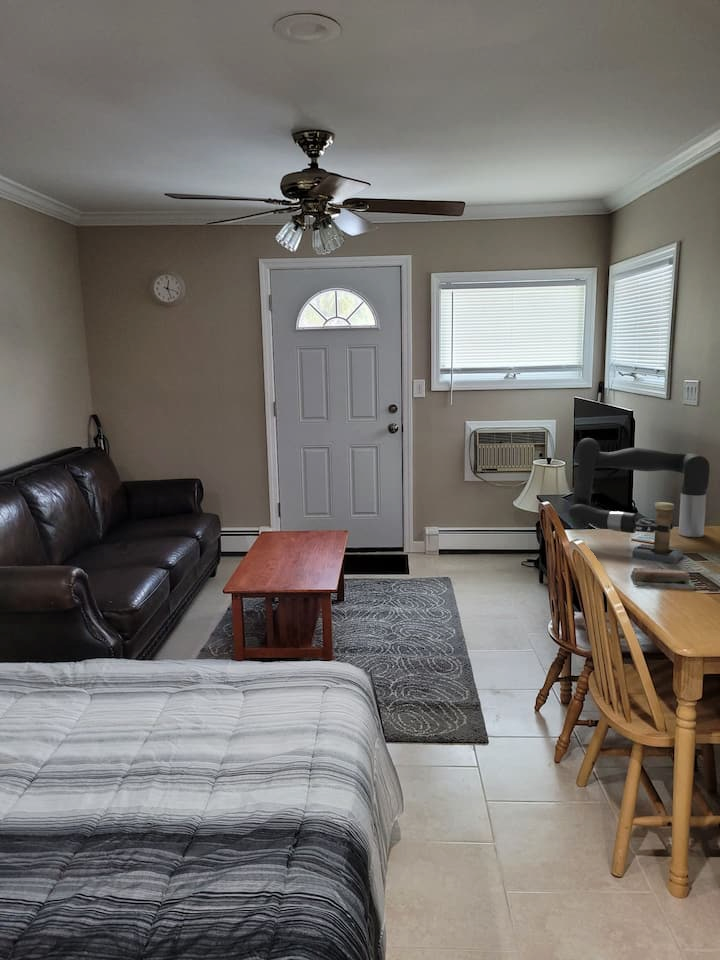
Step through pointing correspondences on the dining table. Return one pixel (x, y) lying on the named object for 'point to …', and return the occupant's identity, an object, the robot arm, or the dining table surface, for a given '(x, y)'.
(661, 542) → the walnut peg
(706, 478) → the robot arm
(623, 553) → the dining table surface
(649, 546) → the keyhole plate
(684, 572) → the packaged product
